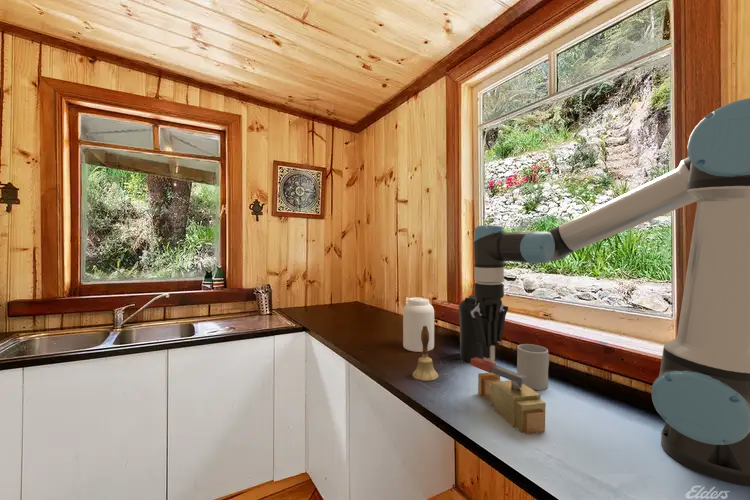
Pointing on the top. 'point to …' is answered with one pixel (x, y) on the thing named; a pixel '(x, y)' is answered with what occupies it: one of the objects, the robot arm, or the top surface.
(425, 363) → the hand bell
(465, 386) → the top surface
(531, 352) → the mug
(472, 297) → the water bottle
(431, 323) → the white lidded jar
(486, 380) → the valve
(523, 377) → the lever
